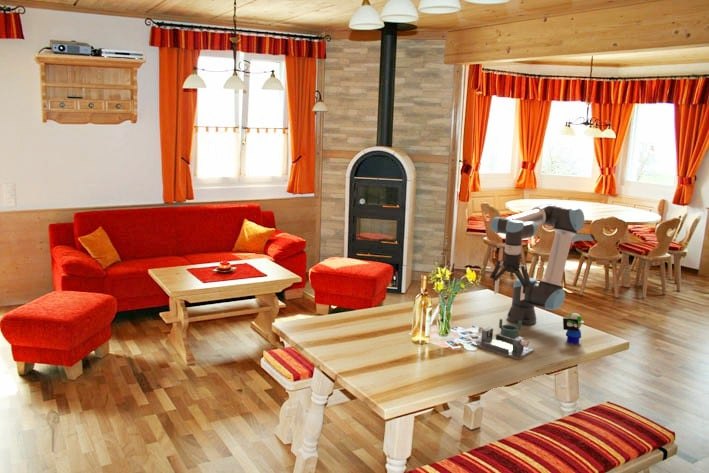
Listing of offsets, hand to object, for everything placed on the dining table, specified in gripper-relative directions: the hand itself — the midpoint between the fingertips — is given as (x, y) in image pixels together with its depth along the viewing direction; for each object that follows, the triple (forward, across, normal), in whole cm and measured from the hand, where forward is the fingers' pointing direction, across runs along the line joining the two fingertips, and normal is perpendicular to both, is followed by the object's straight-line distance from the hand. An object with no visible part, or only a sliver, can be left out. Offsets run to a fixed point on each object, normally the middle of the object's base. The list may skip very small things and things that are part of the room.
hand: (509, 296), depth 296 cm
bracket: (+24, -2, +8) cm, 25 cm away
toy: (+24, +23, +25) cm, 42 cm away
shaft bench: (+23, +2, -8) cm, 25 cm away
